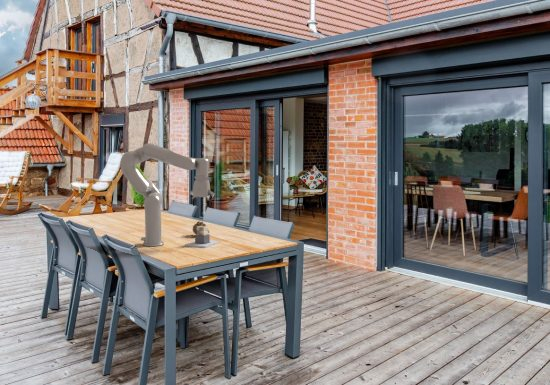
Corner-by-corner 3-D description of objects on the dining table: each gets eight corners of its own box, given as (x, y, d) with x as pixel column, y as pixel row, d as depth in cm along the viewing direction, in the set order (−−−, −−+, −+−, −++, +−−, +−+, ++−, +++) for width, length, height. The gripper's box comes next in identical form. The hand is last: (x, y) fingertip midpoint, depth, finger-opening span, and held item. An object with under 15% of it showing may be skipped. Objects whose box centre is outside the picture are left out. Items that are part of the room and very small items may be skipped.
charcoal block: (195, 243, 298) (195, 235, 298) (200, 241, 304) (200, 233, 304) (204, 243, 296) (204, 235, 295) (209, 242, 302) (209, 234, 301)
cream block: (196, 234, 298) (196, 226, 298) (201, 233, 303) (201, 225, 302) (203, 235, 296) (203, 227, 296) (208, 234, 301) (208, 226, 300)
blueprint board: (185, 246, 294) (185, 244, 294) (200, 241, 311) (200, 239, 311) (205, 247, 289) (205, 246, 289) (219, 242, 306) (219, 240, 306)
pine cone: (188, 235, 332) (188, 220, 331) (201, 233, 338) (201, 219, 337) (204, 240, 314) (204, 225, 314) (217, 238, 320) (217, 223, 319)
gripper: (186, 177, 296) (186, 205, 298) (211, 179, 290) (210, 207, 291) (193, 177, 303) (192, 204, 305) (217, 178, 297) (216, 206, 298)
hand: (201, 206), depth 298 cm, fingers open, 9 cm apart
